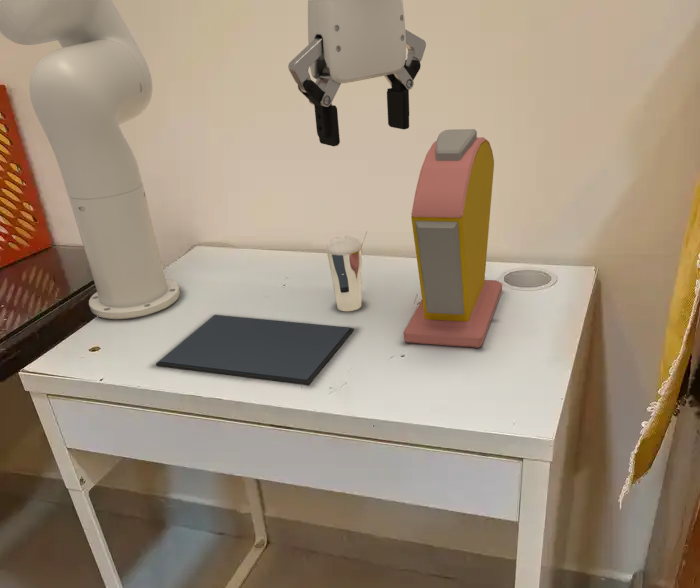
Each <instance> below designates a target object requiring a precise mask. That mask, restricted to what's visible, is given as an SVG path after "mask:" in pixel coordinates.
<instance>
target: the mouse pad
mask: <svg viewBox="0 0 700 588" xmlns="http://www.w3.org/2000/svg"><path fill="white" fill-rule="evenodd" d="M354 331H355V328H354V327H350V326H339V325H327V324H318V323H306V322H297V321H296V322H295V321H287V320H276V319H264V318H254V317H244V316H234V315H233V316H232V315H221V314H214V315H212V316H211V317H210V318H209V319H208V320H207V321H205V322H204V323H203V324H202V325H200V326H199V327H198V328H197V329H195V330H194V331H193V332H192V333H191V334H189V335H188V336H187V337H185V339H184V340H182V341H181V342H180V343H178V345H176V346H175V347H174V348H173V349H172V350H170V351H169V352H168V353H167V354H166V355H164V356H162V358H161V359H160V360H158V361H157V362H156V363H155V366H156V367H163V368H169V369H170V368H171V369H178V370H187V371H195V372H203V373H211V374H217V375H227V376H235V377H242V378H252V379H259V380H260V379H261V380H265V381H266V380H267V381H274V382H281V383H282V382H283V383H290V384H299V385H306V386H310V385H311V383H312V382H313V381H314V380H315V378H316V377H317V376H318V375H319V373H320V372H321V371H322V369H323V368H324V367H325V366H326V365H327V364H328V362H330V360H332V358H333V356H334V355H335V354H336V353H337V351H339V349H340V348H341V346H343V344H344V343H345V342H346V340H347V339H348V338H349V337H350V336H351V334H352V333H353V332H354Z"/></svg>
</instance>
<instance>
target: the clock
mask: <svg viewBox="0 0 700 588" xmlns="http://www.w3.org/2000/svg"><path fill="white" fill-rule="evenodd" d="M477 135H478V131H477V129H476V128H459V129H458V128H457V129H445V130H443V131H441V132H440V133H439V134H438V136H437V138H436V140H435V141H434V142H433V143H432V145H431V146H430V148H429V149H428V151H427V152H426V154H425V157H424V160H423V162H422V166H421V168H420V171H419V175H418V180H417V184H416V188H415V193H414V197H413V203H412V209H411V214H410V215H411V217H410V218H411V219H410V220H411V227H412V234H413V241H414V248H415V257H416V264H417V271H418V279H419V286H420V294H421V300H420V302H419V304H418V306H417V307H416V309H415V311H414V313H413V314H412V316H411V318H410V320H409V322H407V323H408V324H407V325H406V327H405V328H404V331H403V340H404V342H406V343H408V344H421V345H433V346H434V345H435V346H449V347H461V348H463V347H464V348H475V349H476V348H478V349H479V348H480V347H481V346H482V345H483V344H484V341H485V338H486V336H487V333H488V330H489V327H490V324H491V321H492V319H493V317H494V313H495V312H496V311H495V310H496V308H497V305H498V302H499V299H500V298H501V297H500V296H501V294H502V291H503V283H502V282H500V281H498V280H495V279H485V278H486V266H487V256H488V244H489V243H488V242H489V231H490V219H491V208H492V207H491V206H492V196H493V183H494V173H495V171H494V170H495V158H494V153H493V149H492V147H491V144H490V141H489V140H488V139H486V138H485V137H484V136H483V137H482V136H481V137H478V136H477Z"/></svg>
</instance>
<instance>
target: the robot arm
mask: <svg viewBox="0 0 700 588" xmlns="http://www.w3.org/2000/svg"><path fill="white" fill-rule="evenodd" d="M121 15H122V14H120V12H119V10H118V8H117V7H116V4H115V3H114V1H113V0H0V33H1V35H2V36H3V37H4V38H6V39H8V40H9V41H11V42H13V43H15V44H17V45H23V46H34V45H40V44H47V43H51V42H55V41H57V42H58V43H59V44H60V46H61V48H57V49H55V50H52V51H50V52H48V53H47V54H46V55H44V56H43V57H42V58H40V59H39V61H38V62H37V63H36V64H35V65H34V67H33V69H32V72H31V74H30V77H29V97H30V101H31V106H32V108H33V110H34V113H35V115H36V118H37V120H38V123H39V124H40V126H41V128H42V131H43V132H44V134H45V136H46V137H47V138H46V139H47V141H48V142H49V145H50V147H51V149H52V152H53V154H54V156H55V159H56V162H57V165H58V168H59V170H60V173H61V176H62V179H63V183H64V187H65V190H66V193H67V196H68V199H69V202H70V205H71V209H72V212H73V216H74V219H75V222H76V226H77V230H78V233H79V235H80V239H81V242H82V246H83V249H84V253H85V256H86V260H87V262H88V266H89V269H90V272H91V276H92V279H93V283H94V287H95V289H96V292H94V293H93V294H92V295H91V296H90V298H89V300H88V306H89V309H90V312H91V313H92V314H93V315H95V316H97V317H100V318H102V319H110V320H124V319H127V320H128V319H135V318H140V317H144V316H148V315H151V314H154V313H157V312H160V311H162V310H164V309H167V308H168V307H170V306H171V305H173V304H174V303H175V302H176V301H177V300H179V297H180V295H181V293H180V287H179V285H178V283H177V282H175V281H174V280H172V279H169V278H166V276H165V272H164V267H163V264H162V259H161V254H160V251H159V246H158V243H157V238H156V234H155V229H154V226H153V221H152V217H151V212H150V209H149V205H148V200H147V196H146V192H145V189H144V188H145V187H144V184H143V181H142V176H141V173H140V168H139V165H138V162H137V161H138V160H137V159H136V156H135V154H134V152H133V150H132V148H131V146H130V144H129V142H128V141H127V138H126V137H125V135H124V133H123V131H122V129H121V127H120V125H123V124H124V123H126V122H128V121H131V120H133V119H135V118H136V117H138V116H140V115H141V114H142V113H144V112H145V110H146V109H147V108H148V106H149V105H150V102H151V100H152V95H153V79H152V75H151V71H150V68H149V65H148V63H147V60H146V58H145V56H144V54H143V52H142V51H141V49H140V47H139V45H138V43H137V42H136V40H135V38H134V37H133V35H132V33H131V31H130V29H129V27H128V26H127V24H126V23H125V20H124V18H123V17H122V16H121ZM405 20H406V19H405V11H404V2H403V0H307V37H308V38H307V43H308V44H307V45H306V47H304V48H303V49H302V50H301V51H300V52H299V53H298V54H297V55H296V56H295V57H294V58H293V59H291V61H289V63H288V66H287V68H288V71H289V72H290V74H291V76H292V78H293V80H294V82H295V83H296V84H297V88H298V91H299V92H300V93H301V94H302V95H303V96H304V97H306V99H307V100H308V102H309V104H310V105H312V106H314V107H313V108H314V115H315V116H314V117H315V126H316V127H315V128H316V135H317V136H318V140H319V143H320V144H322V145H326V146H331V147H338V146H340V142H341V139H340V128H339V127H340V126H339V114H338V107H337V106H336V105H333V104H332V103H333V101H334V99H335V97H336V95H337V94H338V93H337V92H338V91H339V88H340V87H341V85H342V84H348V83H355V82H359V81H366V80H371V79H375V78H380V77H384V78H385V79H386V81H387V82H388V84H389V85H390V87H389V88H387V91H386V106H387V124H388V126H389V127H390V128H393V129H400V130H408V129H409V128H410V90H412V89H413V88H414V81H415V78H416V77H417V75H418V73H419V71H420V69H421V66H422V65H421V62H422V61H423V57H424V53H425V50H426V47H427V42H426V41H425V40H424V39H423V38H421V37H420V36H418V35H416V34H414V33H412V32H411V31H409V30H408V29H406V22H405ZM309 68H310V69H309ZM309 70H310V72H309ZM310 74H311V75H310ZM311 76H312V78H313V79H314V80H315V81H314V80H313V79H312V78H311Z"/></svg>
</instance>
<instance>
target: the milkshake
mask: <svg viewBox="0 0 700 588" xmlns="http://www.w3.org/2000/svg"><path fill="white" fill-rule="evenodd" d="M367 233H368V231H366V232H365V234H364V238H363V241H362V242H361V241H360V240H359V239H358V238H355V237H353V236H349V235H345V236H338V237H334V238H331V240H330V241H329V242H328V244H327V245H326V247H325V249H326V255H327V259H328V260H327V261H328V266H329V270H330V273H331V279H332V284H333V290H334V296H335V302H336V303H335V304H336V307H337V310H339V311H342V312H354V311H357V310H359V309H360V308H362V265H363V244H364V242H365V239H366V236H367Z"/></svg>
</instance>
